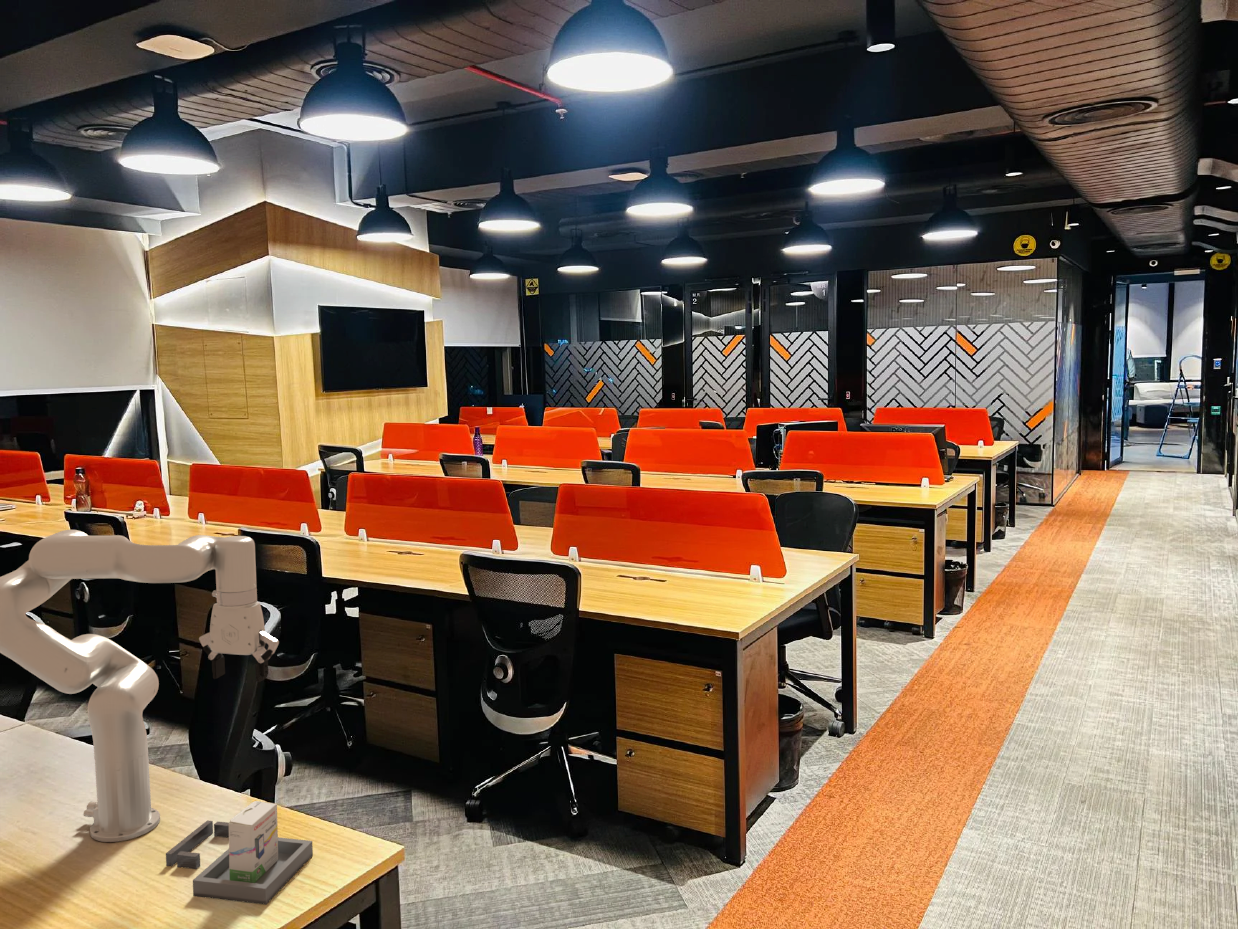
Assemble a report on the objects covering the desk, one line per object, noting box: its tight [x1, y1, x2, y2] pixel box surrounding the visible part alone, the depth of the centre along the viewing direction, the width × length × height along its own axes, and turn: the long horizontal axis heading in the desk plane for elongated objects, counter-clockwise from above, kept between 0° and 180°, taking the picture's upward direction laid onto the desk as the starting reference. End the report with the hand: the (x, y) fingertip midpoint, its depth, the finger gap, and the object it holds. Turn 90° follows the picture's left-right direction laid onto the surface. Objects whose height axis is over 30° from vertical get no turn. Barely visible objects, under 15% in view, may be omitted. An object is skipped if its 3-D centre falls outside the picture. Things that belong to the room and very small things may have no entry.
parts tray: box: [192, 836, 314, 906], centre depth 167 cm, size 14×16×3 cm
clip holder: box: [165, 820, 229, 870], centre depth 175 cm, size 6×13×2 cm, turn 170°
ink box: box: [228, 800, 279, 883], centre depth 166 cm, size 9×5×12 cm, turn 169°
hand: (240, 678), depth 185 cm, fingers open, 9 cm apart
